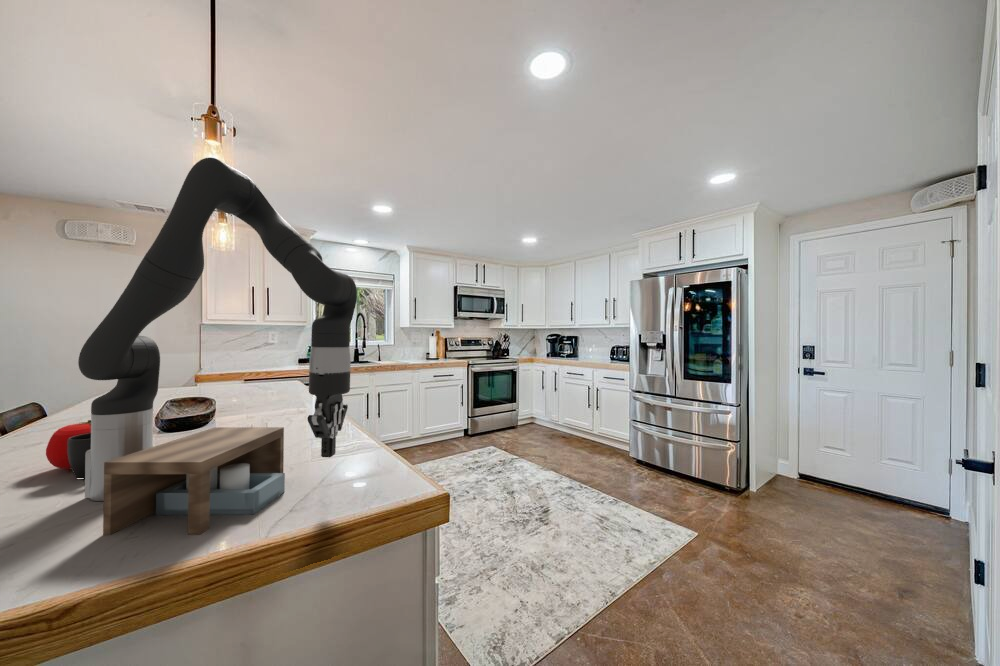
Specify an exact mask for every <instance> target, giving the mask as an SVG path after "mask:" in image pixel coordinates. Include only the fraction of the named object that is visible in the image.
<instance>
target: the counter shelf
mask: <svg viewBox="0 0 1000 666" xmlns="http://www.w3.org/2000/svg"><path fill="white" fill-rule="evenodd" d="M284 434H285V427H284V426H283V427H278V426H274V427H267V426H266V427H258V426H257V427H255V426H254V427H251V426H249V427H248V426H246V427H244V426H243V427H236V426H235V427H233V426H232V427H229V426H227V427H224V426H223V427H217V426H216V427H211V428H208V429H205V430H201V431H199V432H195V433H193V434H190V435H186V436H183V437H180V438H177V439H174V440H170V441H167V442H164V443H161V444H158V445H155V446H153V447H151V448H148V449H145V450H142V451H138V452H135V453H132V454H129V455H126V456H123V457H119V458H116V459H113V460H110V461H107V462H104V501H103V507H102V508H103V509H102V510H103V513H102V515H103V517H102V518H103V520H102V535H104V536H110V535H113V534H115V533H117V532H119V531H120V530H122V529H124V528H126V527H128V526H131V525H133V524H135V523H136V522H138V521H141V520H143V519H144V518H146V517H148V516H151V515H152V514H154V513H156V493H158V492H160V491H162V490H164V489H166V488H168V487H171V486H173V485H175V484H177V483H179V482H182V481H184V480H186V474H189V487H188V515H187V535H202V534H203V533H204V532H206V531H207V530H209V529H210V515H209V514H210V470H211V469H213V468H215V467H217V473H220V469H221V468H223V467H225V466H228V465H232V464H238V463H247V464H250V473H284V460H285V459H284V458H285V456H284V453H285V452H284V447H285V445H284V441H285V438H284V437H285V435H284Z"/></svg>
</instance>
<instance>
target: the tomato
mask: <svg viewBox="0 0 1000 666" xmlns="http://www.w3.org/2000/svg"><path fill="white" fill-rule="evenodd" d="M87 433H91V419H88V420H87V421H83V422H82V421H81V422H78V423H72V424H68V425H66V426H62V427H60V428H58V429H57V430H55V432H53V434H52V435H51V436H50V438H49V441H48V443H47V446H46V448H45V456H46V458H47V459H46V460H47V461H48V463H49V464H51V465H52V466H53V467H55V468H58V469H63V470H72V469H71V466H70V463H69V460H68V454H67V440H68V438H70V437H73V436H77V435H81V434H87Z"/></svg>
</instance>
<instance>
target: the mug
mask: <svg viewBox="0 0 1000 666" xmlns="http://www.w3.org/2000/svg"><path fill="white" fill-rule="evenodd" d="M90 449H91V433H87V434H81V435H77V436H73V437H70V438H68V440H67V454H68V460H69V463H70V466H71V469H70V470H71V471H72V473H73V475H74V478H75V477H76V478H85V454H86V451H87V450H90ZM76 478H75V479H76Z"/></svg>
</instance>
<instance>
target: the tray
mask: <svg viewBox="0 0 1000 666" xmlns="http://www.w3.org/2000/svg"><path fill="white" fill-rule="evenodd" d="M285 478H286V475H285V472H283V473H250V464H247V463H238V464H232V465H228V466H225V467H223V468H221V469H220V473H217V467H215V468H213V469H211V470H210V514H209V516H212V515H213V516H220V515H222V516H223V515H225V516H226V515H229V516H231V515H233V516H234V515H235V516H237V515H238V516H239V515H240V516H246V515H250V516H251V515H252V516H253V515H255V514H257V513H259V511H261V510H262V509H263V508H265V507H266V506H267V505H269V504H270V503H272V502H273V501H275V500H276V499H277V498H278V497H280V496H281V495H282V493H283V492H284V493H285V489H286V488H285V483H286V482H285V481H286V479H285ZM188 487H189V474H186V480H184V481H182V482H179V483H177V484H175V485H173V486H171V487H168V488H166V489H164V490H162V491H160V492H158V493H156V512H155V515H156V516H178V515H179V516H184V515H185V516H188ZM284 493H283V494H284ZM279 495H280V496H279ZM275 498H276V499H275ZM271 501H272V502H271Z"/></svg>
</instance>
